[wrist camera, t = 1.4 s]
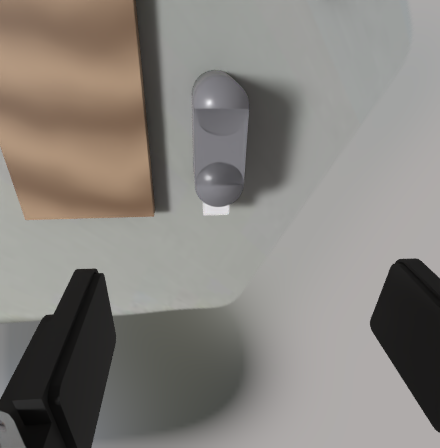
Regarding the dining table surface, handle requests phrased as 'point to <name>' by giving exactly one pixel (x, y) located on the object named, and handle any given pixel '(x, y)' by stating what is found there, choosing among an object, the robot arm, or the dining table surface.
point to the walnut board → (74, 109)
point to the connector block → (219, 140)
